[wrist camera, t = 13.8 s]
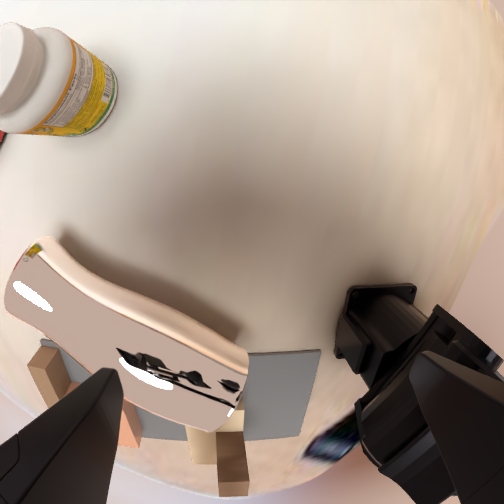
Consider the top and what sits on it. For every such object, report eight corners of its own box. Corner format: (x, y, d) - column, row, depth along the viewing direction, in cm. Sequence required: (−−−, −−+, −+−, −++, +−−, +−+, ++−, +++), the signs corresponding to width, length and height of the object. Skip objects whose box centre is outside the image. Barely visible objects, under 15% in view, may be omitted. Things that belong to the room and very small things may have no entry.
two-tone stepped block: (241, 383, 22) (251, 464, 14) (238, 441, 25) (246, 506, 17) (184, 383, 21) (178, 464, 14) (193, 441, 24) (192, 506, 16)
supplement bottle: (135, 87, 14) (62, 32, 5) (82, 153, 15) (-19, 161, 6) (86, 49, 13) (8, -5, 4) (39, 111, 14) (-59, 99, 5)
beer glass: (60, 208, 15) (260, 330, 18) (57, 268, 19) (213, 361, 22) (-11, 286, 9) (237, 431, 13) (10, 334, 14) (190, 437, 17)
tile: (129, 390, 21) (123, 410, 19) (142, 429, 23) (139, 448, 21) (71, 381, 20) (62, 399, 18) (90, 420, 22) (84, 438, 20)
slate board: (319, 349, 22) (333, 375, 19) (297, 433, 26) (305, 457, 23) (41, 338, 19) (25, 360, 16) (79, 424, 23) (71, 445, 20)
